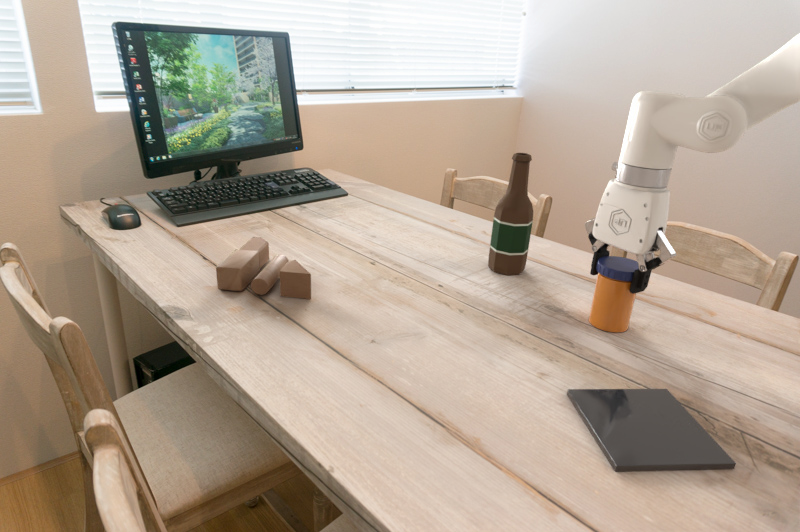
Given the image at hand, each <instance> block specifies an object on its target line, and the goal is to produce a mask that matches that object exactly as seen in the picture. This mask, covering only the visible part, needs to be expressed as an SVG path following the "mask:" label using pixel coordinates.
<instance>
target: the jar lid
mask: <svg viewBox="0 0 800 532" xmlns="http://www.w3.org/2000/svg"><path fill="white" fill-rule="evenodd" d="M596 269H597V271H598V272H599V273H600V274H602V275H603V276H606V277H608V278H611V279H615V280H620V281H632V278H633V274H634V271H635V270H636V269H639V267H638V262H637V260H634V259H632V258H628V257H624V256H617V255H609V256H605V257H601V258H599V260H598V262H597V267H596Z"/></svg>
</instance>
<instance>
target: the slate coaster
mask: <svg viewBox="0 0 800 532" xmlns="http://www.w3.org/2000/svg"><path fill="white" fill-rule="evenodd" d="M566 390H567V391H566V396H568V398H569V400H570V402H571V403H572V405H573V407H574V408H575V410H576V411H577V413H578V415H579V416H580V418H581V419H582V421H583V422H584V424H585V426H586V427H587V429H588V430H589V432H590V434H591V435H592V437H593V438H594V440H595V442H596V443H597V445H598V447H599V448H600V450H601V451H602V453H603V454H604V456H605V458H606V460H607V461H608V463H609V464H610V466H611V468H612V469H613V470H614V472H646V471H647V472H648V471H649V472H651V471H652V472H653V471H654V472H655V471H693V470H694V471H695V470H696V471H697V470H699V471H700V470H734V469H735V468H736V465H737V463H736V461H735V460H734V459H733V458H732V457H731V456H730V455H729V453H727V451H726V450H725V449H723V447H722V446H721V445H720V444H719V443H718V442H717V441H716V440H715V438H713V436H712V435H711V434H710V433H709V432H708V431H707V430H706V429H705V428H704V427H703V426H702V425H701V424H700V423H699V421H698V420H696V418H694V416H693V415H692V414H691V413H690V412H689V411H688V410H687V409H686V408H685V407H684V405H683V404H682V403H681V402H680V401H679V400H678V399H677V398H676V397H675V396H674V395H673V394H672V392H671V391H670V390H669V389H668V388H582V389H581V388H577V389H576V388H571V389H570V388H569V389H566Z"/></svg>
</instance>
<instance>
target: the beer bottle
mask: <svg viewBox="0 0 800 532" xmlns="http://www.w3.org/2000/svg"><path fill="white" fill-rule="evenodd" d="M511 160H512V164H511V170H510V175H509V180H508V185H507V188H506V191H505V194H504V195H503V196H502V197H501V198H500V200H499V201H498V203H497V205H496V207H495V210H494V214H493V221H492V227H491V236H490V245H489V252H488V260H487V261H488V262H487V266H488V268H489V269H490V270H491V271H492V272H493V273H497V274H500V275H505V276H517V275H518V276H519V275H521V274H522V273H523V272H524V271H525V270H526V265H527V260H528V253H529V247H530V242H531V241H530V240H531V234H532V228H533V223H534V207H533V203H532V201H531V200H530V197H529V194H528V193H529V191H528V187H529V176H530V175H529V174H530V163H531V161H533V160H532V155H531V154H529V153H528V152H515V153H513V155H512V157H511Z"/></svg>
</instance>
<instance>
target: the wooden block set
mask: <svg viewBox="0 0 800 532" xmlns="http://www.w3.org/2000/svg"><path fill="white" fill-rule="evenodd" d="M269 245H270V244H269V242H268V240H266V239H264V238H263V237H262V236H261V237H259V236H252V237H251V238H250V239H249V240H248V241H246V242H245V243H244V244H243V245H242V246H241V247H240V248H239V249H238V248H237V249H235V250H234V251H232V252H231V253H230V254H229V255H227V256H226V257H225V258H224V259H223V260H222V261H220V262H219V263H218V264H217V265H216V267H215V272H216V284H217V290H220V291H230V292H231V291H232V292H243V291H244V290H245V289H246V288H247V287H248V285H250V289H251V291H252V292H253V293H254V294H257V295H261V296H262V295H263V296H264V295H266V294H267V293H268V292H269V291H270V290H271V288H272V287H273V286H274V285H275V284H276V283H277V281H278V280H279V294H280V297H284V298H293V299H294V298H295V299H305V300H306V299H307V300H312V274H311V272H309V271H308V270H307V269H306V268H305V267H304V266H303V265H302V264H301V263H300V262H299V261H297V260H296V259H291V260H289V258H288V257H287V256H286V255H285V254H280V253H279V254H276V255H274V256H273V257H272V259H271V260H270V246H269ZM269 260H270V261H269ZM267 262H268V263H267ZM266 263H267V264H266ZM265 264H266V265H265ZM264 265H265V266H264ZM260 269H261V270H260Z"/></svg>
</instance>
